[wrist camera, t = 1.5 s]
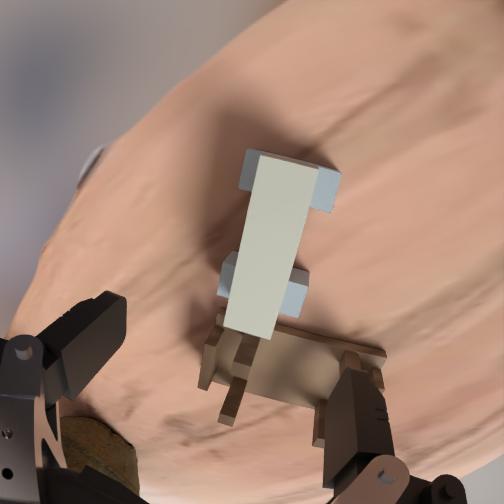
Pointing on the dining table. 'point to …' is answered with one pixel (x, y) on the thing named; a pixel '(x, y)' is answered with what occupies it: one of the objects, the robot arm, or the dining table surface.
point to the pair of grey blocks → (320, 200)
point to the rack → (282, 368)
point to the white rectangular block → (269, 243)
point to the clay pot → (98, 450)
